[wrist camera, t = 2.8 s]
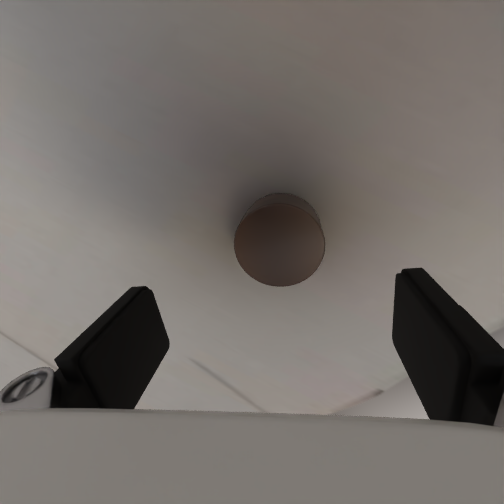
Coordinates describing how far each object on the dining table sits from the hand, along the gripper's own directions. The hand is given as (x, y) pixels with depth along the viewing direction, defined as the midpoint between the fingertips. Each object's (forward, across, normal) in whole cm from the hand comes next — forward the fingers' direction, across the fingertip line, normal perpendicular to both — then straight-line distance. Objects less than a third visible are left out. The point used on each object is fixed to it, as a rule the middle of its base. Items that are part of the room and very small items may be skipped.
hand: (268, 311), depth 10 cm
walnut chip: (+8, 0, 0) cm, 8 cm away
